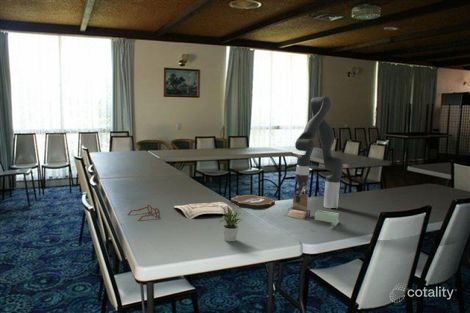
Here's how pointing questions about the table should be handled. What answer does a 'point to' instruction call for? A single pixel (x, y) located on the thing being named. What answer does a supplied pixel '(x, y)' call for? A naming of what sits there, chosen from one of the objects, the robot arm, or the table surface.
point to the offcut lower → (296, 216)
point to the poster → (203, 208)
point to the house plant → (230, 225)
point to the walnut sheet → (302, 204)
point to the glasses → (148, 210)
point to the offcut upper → (297, 212)
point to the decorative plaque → (253, 201)
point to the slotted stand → (327, 217)
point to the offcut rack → (308, 212)
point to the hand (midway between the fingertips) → (300, 201)
